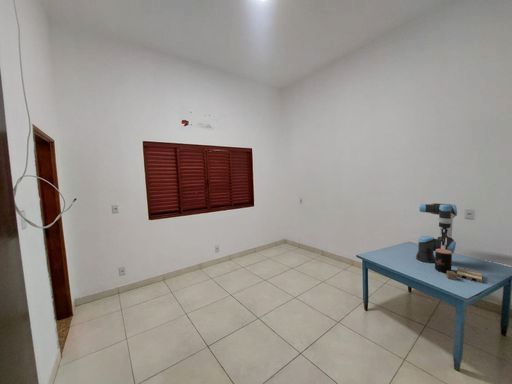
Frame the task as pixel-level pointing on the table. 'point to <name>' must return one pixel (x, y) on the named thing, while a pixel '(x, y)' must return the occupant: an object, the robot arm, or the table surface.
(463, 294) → the table surface
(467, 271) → the pallet dock
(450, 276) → the cargo block
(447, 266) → the coffee jar
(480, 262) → the table surface
